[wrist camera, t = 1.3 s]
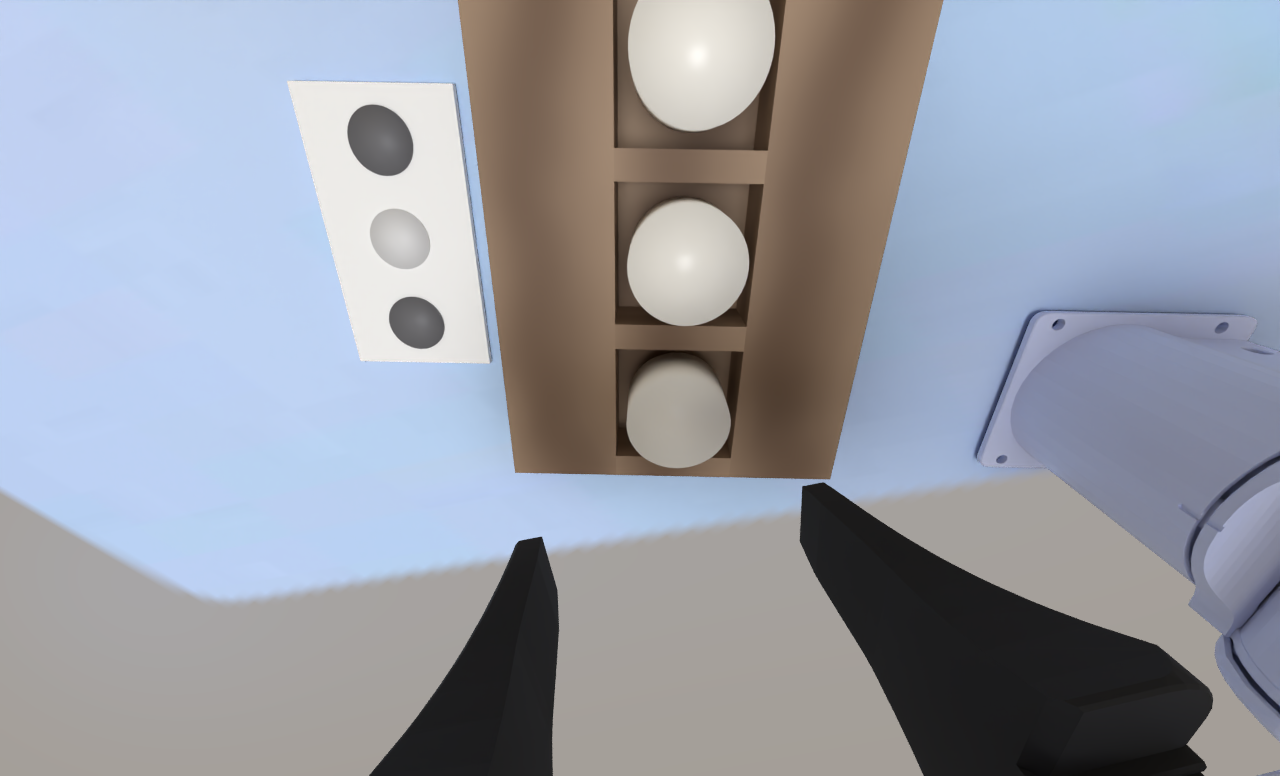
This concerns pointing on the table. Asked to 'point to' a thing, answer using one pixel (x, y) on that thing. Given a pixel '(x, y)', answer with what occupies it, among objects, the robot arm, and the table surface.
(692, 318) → the middle button
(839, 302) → the button panel
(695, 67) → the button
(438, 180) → the card
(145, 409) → the table surface
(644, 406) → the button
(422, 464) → the table surface
